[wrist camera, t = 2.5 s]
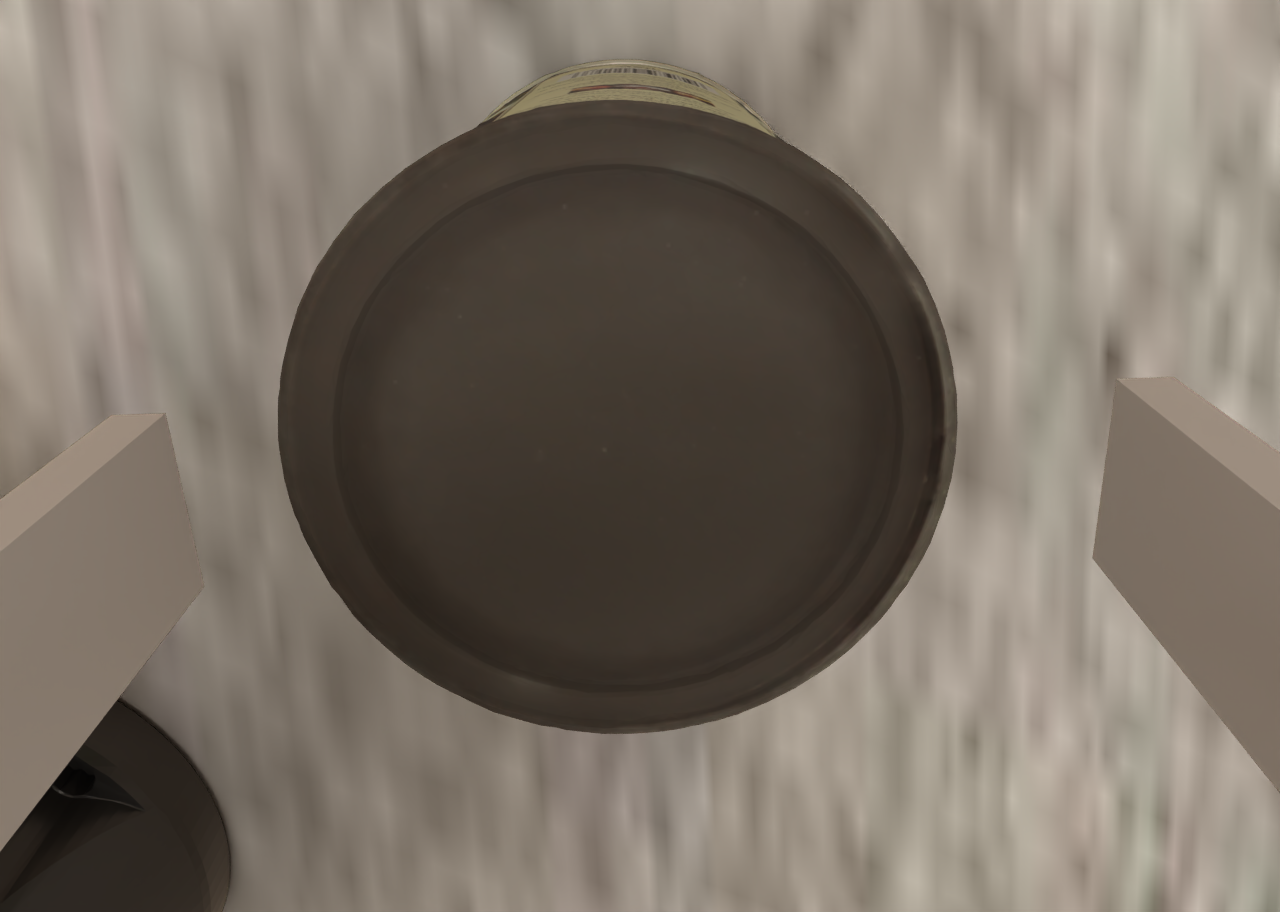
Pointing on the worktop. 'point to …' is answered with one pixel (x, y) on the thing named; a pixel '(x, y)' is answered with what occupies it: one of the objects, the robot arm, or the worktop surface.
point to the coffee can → (617, 408)
